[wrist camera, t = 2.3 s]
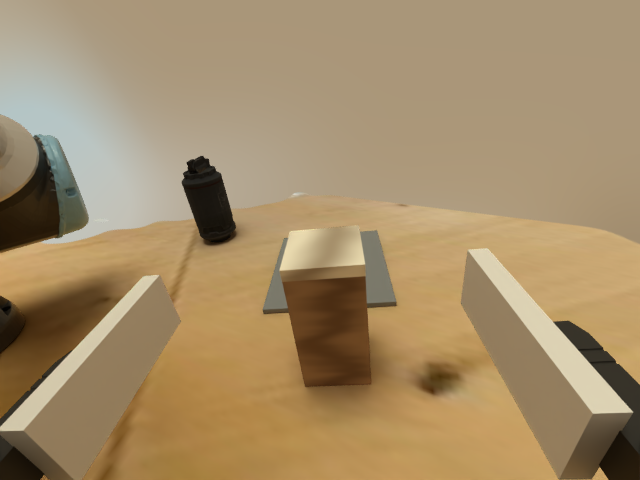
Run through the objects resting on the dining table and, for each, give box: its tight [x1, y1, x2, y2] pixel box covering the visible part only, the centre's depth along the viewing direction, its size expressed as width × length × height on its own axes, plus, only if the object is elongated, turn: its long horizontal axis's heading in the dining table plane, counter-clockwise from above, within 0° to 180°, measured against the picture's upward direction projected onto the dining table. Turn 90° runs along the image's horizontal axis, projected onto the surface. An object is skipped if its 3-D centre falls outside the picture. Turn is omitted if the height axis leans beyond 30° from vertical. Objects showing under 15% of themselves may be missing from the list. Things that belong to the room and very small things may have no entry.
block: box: [279, 225, 371, 387], centre depth 27 cm, size 6×6×13 cm
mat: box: [263, 230, 396, 313], centre depth 44 cm, size 16×18×1 cm
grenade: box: [182, 156, 236, 242], centre depth 53 cm, size 7×7×15 cm
